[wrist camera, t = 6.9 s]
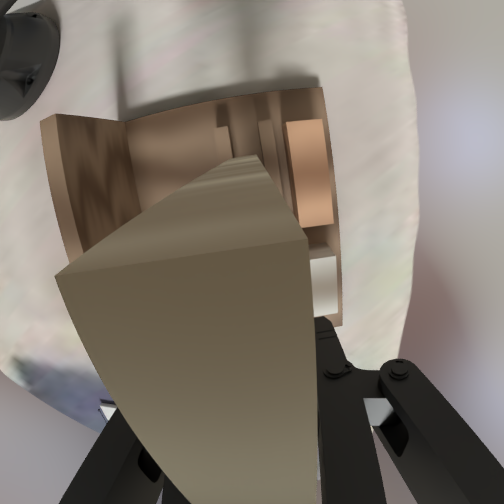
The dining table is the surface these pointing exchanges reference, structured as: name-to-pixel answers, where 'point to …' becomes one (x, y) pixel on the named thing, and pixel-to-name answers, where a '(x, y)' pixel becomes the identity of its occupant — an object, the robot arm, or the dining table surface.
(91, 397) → the dining table surface
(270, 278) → the birch sheet
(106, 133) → the walnut rack
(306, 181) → the cherry offcut
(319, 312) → the grey mdf offcut
